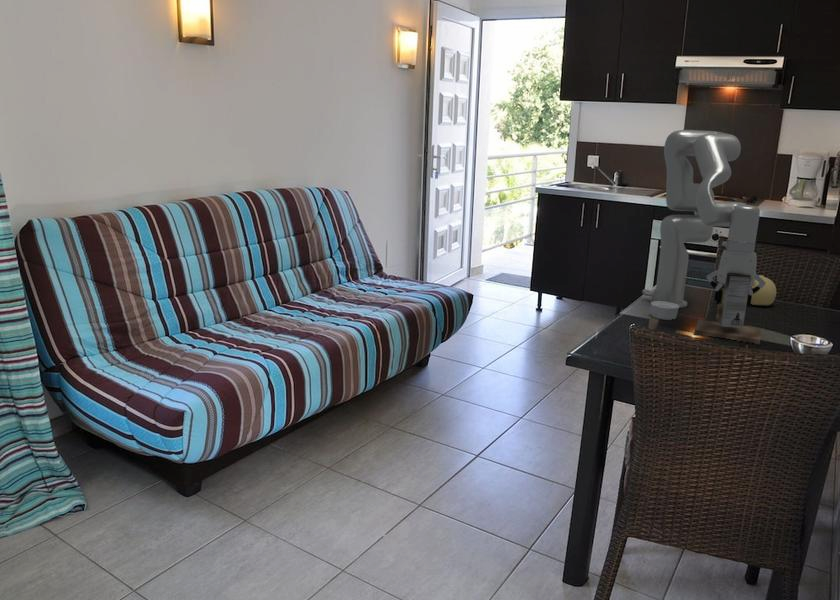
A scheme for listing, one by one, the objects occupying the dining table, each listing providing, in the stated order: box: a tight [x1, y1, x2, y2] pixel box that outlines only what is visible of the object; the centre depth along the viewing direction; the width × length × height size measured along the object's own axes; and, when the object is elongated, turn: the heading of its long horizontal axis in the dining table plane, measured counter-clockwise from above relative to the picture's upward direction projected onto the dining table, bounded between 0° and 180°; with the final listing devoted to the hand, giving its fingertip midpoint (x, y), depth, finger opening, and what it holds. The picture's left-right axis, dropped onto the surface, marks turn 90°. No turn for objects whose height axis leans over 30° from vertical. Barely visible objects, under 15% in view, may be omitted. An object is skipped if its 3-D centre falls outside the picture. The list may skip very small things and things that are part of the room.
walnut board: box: [693, 319, 762, 346], centre depth 212 cm, size 18×14×2 cm
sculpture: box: [751, 274, 777, 306], centre depth 250 cm, size 12×12×11 cm
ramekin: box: [650, 301, 680, 321], centre depth 228 cm, size 9×9×4 cm
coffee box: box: [715, 273, 751, 328], centre depth 209 cm, size 9×6×16 cm
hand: (731, 304), depth 209 cm, fingers closed on coffee box, 7 cm apart
